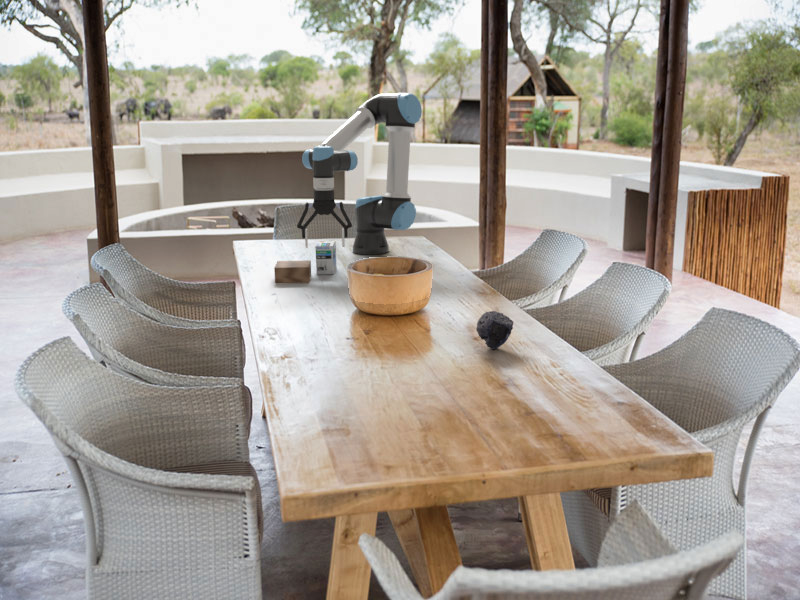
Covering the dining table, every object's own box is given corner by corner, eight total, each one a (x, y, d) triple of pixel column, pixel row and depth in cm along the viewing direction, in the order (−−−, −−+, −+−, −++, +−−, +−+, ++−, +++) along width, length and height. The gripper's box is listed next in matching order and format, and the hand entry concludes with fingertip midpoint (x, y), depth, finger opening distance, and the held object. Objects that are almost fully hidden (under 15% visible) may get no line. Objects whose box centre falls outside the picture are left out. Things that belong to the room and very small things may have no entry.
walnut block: (311, 276, 305) (310, 260, 304) (309, 283, 293) (308, 267, 292) (278, 277, 304) (277, 261, 303) (275, 284, 293) (274, 267, 291)
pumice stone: (483, 355, 210) (483, 317, 207) (470, 347, 217) (471, 310, 214) (520, 351, 213) (521, 313, 211) (506, 343, 220) (507, 306, 218)
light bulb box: (334, 274, 306) (333, 245, 304) (316, 274, 306) (314, 245, 304) (337, 268, 317) (336, 240, 314) (319, 268, 317) (318, 240, 314)
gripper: (289, 190, 299) (290, 249, 304) (358, 189, 302) (359, 247, 306) (289, 188, 307) (291, 245, 311) (357, 187, 309) (358, 244, 314)
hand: (325, 246), depth 309 cm, fingers open, 13 cm apart
